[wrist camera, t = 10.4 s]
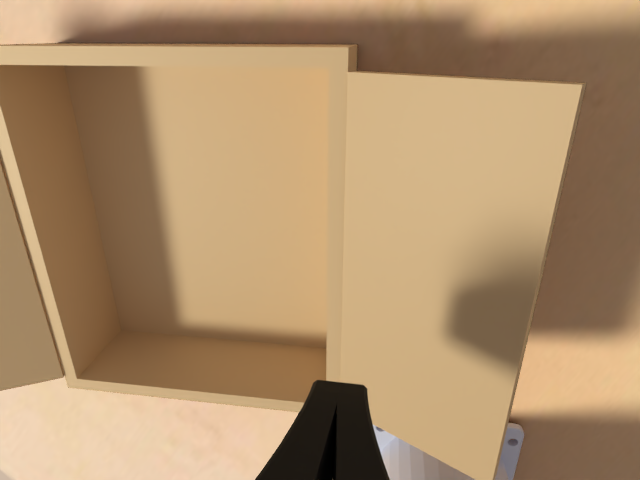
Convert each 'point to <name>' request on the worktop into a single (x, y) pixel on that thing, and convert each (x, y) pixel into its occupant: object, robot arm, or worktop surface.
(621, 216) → the worktop surface
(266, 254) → the carton
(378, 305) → the flap
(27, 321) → the flap
